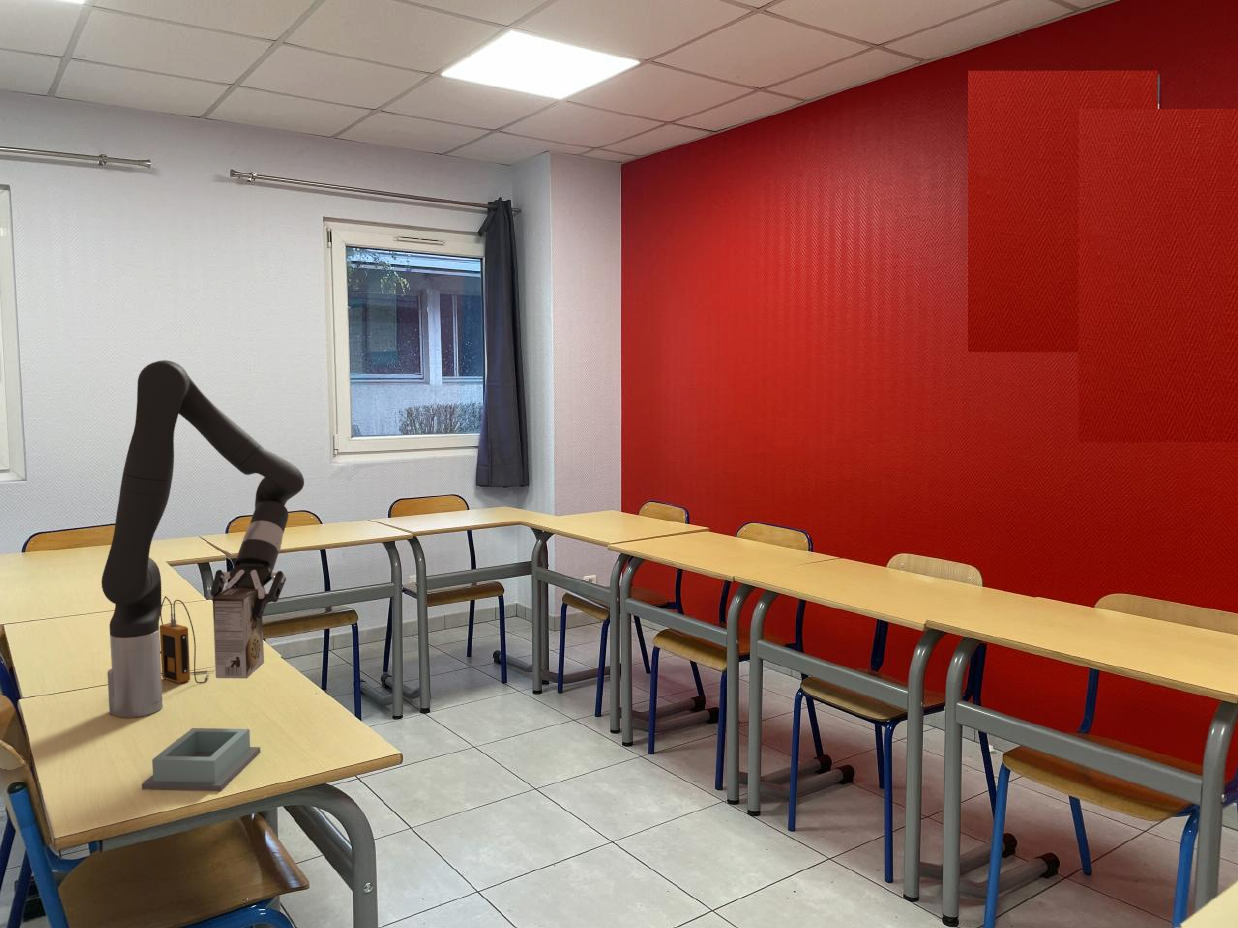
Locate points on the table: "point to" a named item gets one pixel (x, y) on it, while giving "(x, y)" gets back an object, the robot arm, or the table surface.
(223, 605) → the coffee box
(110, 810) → the table surface
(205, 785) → the box
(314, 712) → the table surface
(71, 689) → the table surface
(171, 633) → the multimeter
